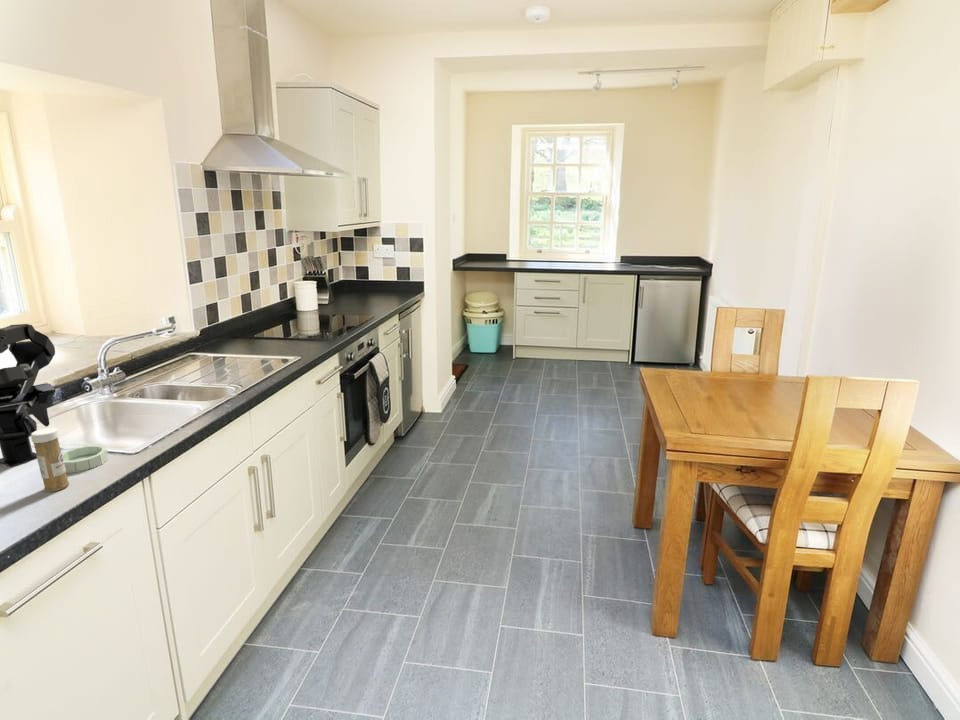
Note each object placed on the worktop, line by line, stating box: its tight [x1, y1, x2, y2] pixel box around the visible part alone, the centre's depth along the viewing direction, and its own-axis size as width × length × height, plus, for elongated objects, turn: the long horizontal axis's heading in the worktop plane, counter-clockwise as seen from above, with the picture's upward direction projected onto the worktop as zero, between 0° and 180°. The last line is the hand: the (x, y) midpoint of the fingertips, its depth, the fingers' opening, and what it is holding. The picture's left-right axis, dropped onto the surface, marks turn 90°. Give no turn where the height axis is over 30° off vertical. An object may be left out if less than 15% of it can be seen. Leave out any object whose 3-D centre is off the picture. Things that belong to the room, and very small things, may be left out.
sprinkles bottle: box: [30, 427, 70, 493], centre depth 126 cm, size 5×5×13 cm
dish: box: [61, 444, 109, 473], centre depth 139 cm, size 10×10×2 cm
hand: (25, 430), depth 126 cm, fingers open, 9 cm apart
